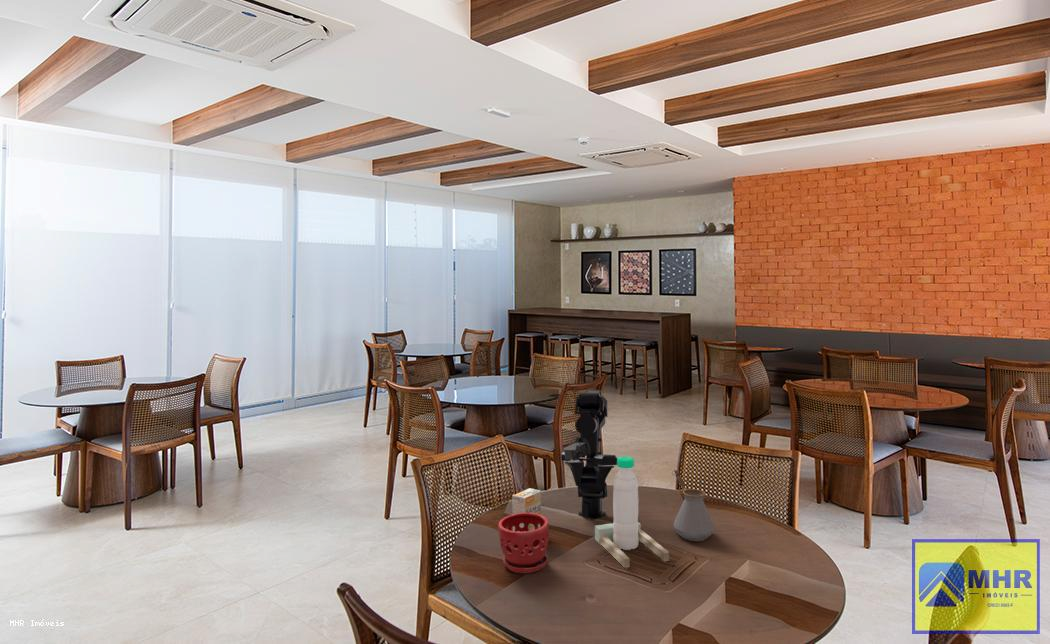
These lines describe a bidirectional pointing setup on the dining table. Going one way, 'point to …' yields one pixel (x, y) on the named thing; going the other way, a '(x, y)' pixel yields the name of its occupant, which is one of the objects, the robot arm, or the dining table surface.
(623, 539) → the water bottle
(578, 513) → the robot arm
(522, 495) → the supplement box
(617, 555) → the rails
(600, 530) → the block
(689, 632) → the dining table surface
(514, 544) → the plant pot
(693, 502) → the coffee pot
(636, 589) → the dining table surface
